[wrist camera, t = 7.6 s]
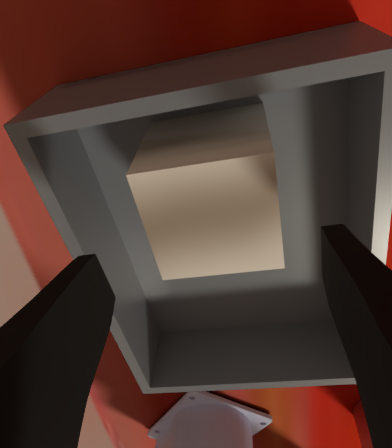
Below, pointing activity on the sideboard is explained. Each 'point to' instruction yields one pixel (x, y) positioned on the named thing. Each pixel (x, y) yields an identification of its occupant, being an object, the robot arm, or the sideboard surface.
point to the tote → (287, 194)
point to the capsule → (362, 425)
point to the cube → (209, 193)
